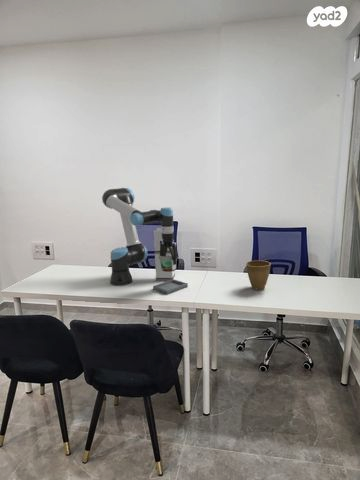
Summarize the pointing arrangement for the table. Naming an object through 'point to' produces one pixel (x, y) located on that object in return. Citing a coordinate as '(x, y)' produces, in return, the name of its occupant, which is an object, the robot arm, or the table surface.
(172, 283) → the grey shallow tray
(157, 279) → the white tall box
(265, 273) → the plant pot
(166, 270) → the food container
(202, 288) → the table surface
